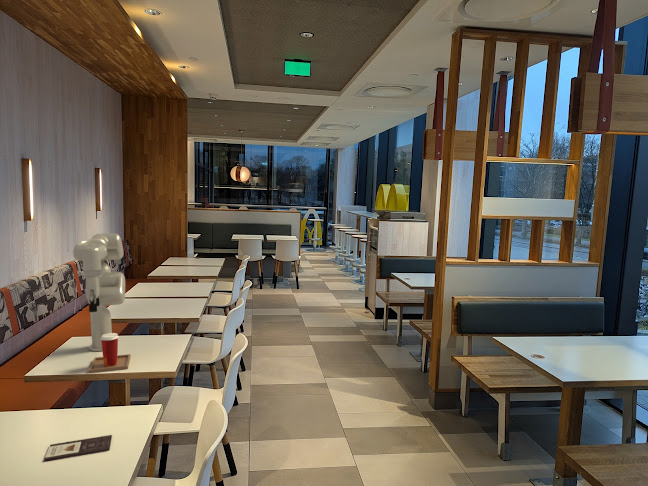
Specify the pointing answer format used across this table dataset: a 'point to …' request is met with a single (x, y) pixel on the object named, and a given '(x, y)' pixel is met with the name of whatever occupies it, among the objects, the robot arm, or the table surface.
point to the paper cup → (110, 348)
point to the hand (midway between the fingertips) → (94, 308)
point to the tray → (99, 366)
